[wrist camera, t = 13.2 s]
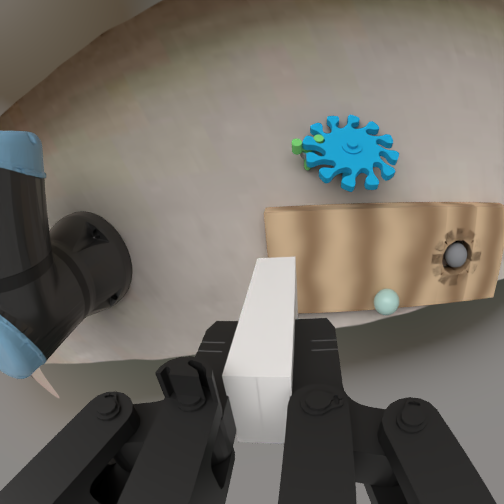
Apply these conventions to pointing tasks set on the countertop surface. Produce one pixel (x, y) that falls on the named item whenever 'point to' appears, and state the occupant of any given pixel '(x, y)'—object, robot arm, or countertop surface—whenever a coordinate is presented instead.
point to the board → (387, 252)
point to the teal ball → (386, 301)
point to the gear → (347, 152)
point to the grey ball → (455, 254)
